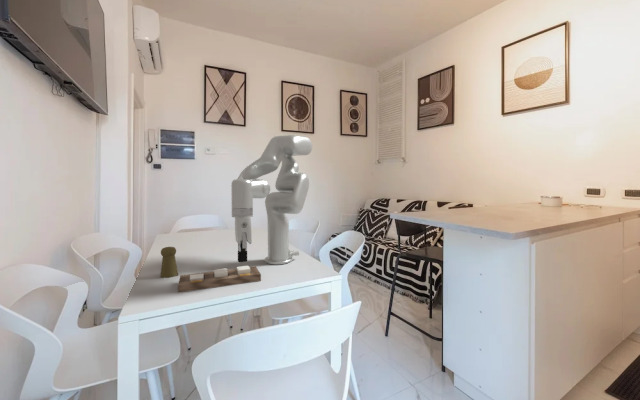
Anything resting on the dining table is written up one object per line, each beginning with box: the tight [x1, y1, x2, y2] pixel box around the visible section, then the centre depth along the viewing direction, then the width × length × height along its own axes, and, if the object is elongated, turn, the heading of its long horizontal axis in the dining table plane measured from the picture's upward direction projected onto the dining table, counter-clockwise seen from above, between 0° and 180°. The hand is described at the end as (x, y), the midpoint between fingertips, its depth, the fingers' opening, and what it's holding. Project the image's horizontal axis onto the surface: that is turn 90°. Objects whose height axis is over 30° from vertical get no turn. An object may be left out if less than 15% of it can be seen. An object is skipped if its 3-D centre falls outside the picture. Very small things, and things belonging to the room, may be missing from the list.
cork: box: [160, 246, 179, 279], centre depth 105 cm, size 6×6×11 cm
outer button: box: [190, 272, 204, 281], centre depth 96 cm, size 4×4×2 cm
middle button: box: [213, 267, 228, 278], centre depth 99 cm, size 4×4×2 cm
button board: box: [177, 265, 262, 293], centre depth 99 cm, size 27×10×3 cm, turn 114°
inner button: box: [236, 265, 251, 275], centre depth 102 cm, size 4×4×2 cm
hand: (242, 261), depth 102 cm, fingers closed
